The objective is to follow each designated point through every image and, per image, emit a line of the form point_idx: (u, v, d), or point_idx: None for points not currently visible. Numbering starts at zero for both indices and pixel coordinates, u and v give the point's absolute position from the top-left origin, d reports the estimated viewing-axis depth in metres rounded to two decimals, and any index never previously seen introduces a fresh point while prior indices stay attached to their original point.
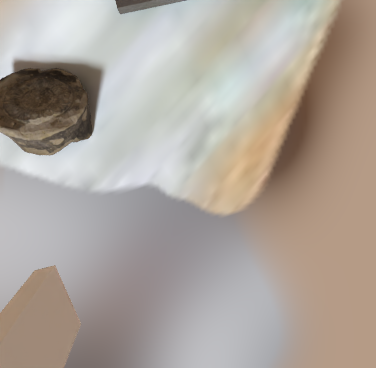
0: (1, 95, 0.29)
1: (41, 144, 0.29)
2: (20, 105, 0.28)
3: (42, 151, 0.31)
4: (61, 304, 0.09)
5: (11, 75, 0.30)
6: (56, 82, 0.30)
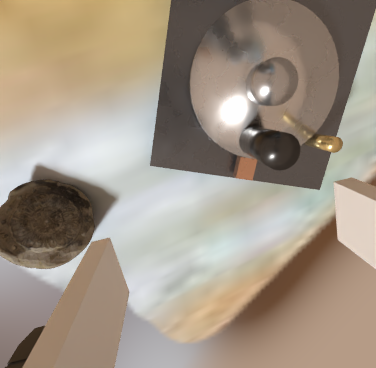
0: (13, 205, 0.30)
1: None
2: (27, 225, 0.29)
3: None
4: (116, 271, 0.10)
5: (29, 184, 0.31)
6: (70, 206, 0.32)
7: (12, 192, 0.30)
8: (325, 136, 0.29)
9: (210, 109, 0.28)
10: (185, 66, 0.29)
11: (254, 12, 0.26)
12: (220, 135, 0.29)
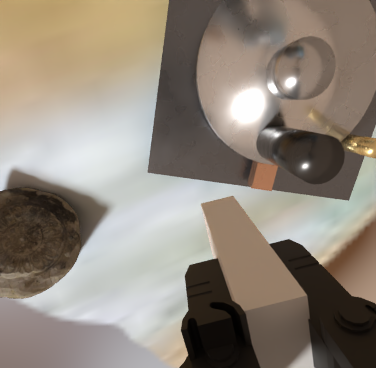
0: None
1: None
2: None
3: None
4: None
5: (2, 193, 0.26)
6: (51, 219, 0.26)
7: None
8: (363, 138, 0.23)
9: (221, 104, 0.23)
10: (190, 51, 0.23)
11: None
12: (233, 136, 0.24)
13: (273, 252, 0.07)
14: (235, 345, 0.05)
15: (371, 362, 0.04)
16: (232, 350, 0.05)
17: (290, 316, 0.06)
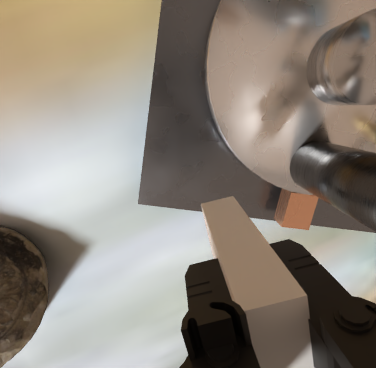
0: None
1: None
2: None
3: None
4: None
5: None
6: (6, 267, 0.19)
7: None
8: None
9: (242, 112, 0.16)
10: (197, 36, 0.17)
11: None
12: (257, 157, 0.17)
13: (273, 252, 0.07)
14: (235, 345, 0.05)
15: (371, 362, 0.04)
16: (232, 350, 0.05)
17: (290, 316, 0.06)
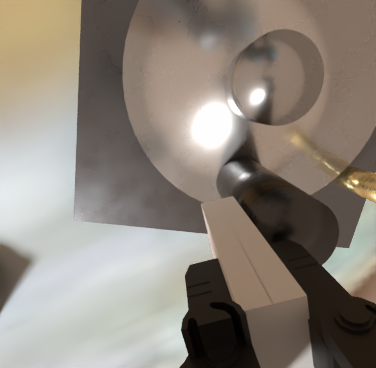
0: None
1: None
2: None
3: None
4: None
5: None
6: None
7: None
8: (368, 174, 0.16)
9: (162, 130, 0.16)
10: (120, 54, 0.17)
11: None
12: (182, 174, 0.17)
13: (273, 252, 0.07)
14: (235, 345, 0.05)
15: (371, 362, 0.04)
16: (232, 350, 0.05)
17: (290, 316, 0.06)
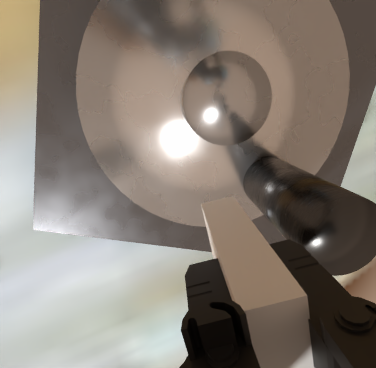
0: None
1: None
2: None
3: None
4: None
5: None
6: None
7: None
8: None
9: (177, 198, 0.17)
10: None
11: (110, 31, 0.14)
12: None
13: (273, 252, 0.07)
14: (235, 345, 0.05)
15: (371, 362, 0.04)
16: (232, 350, 0.05)
17: (290, 316, 0.06)
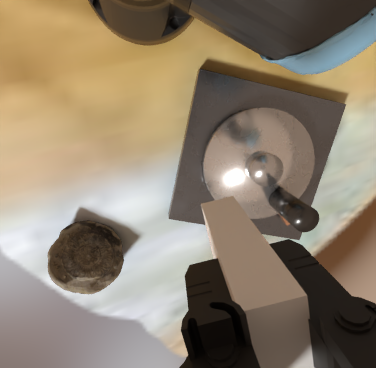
0: (63, 241, 0.38)
1: None
2: (74, 259, 0.38)
3: None
4: None
5: (75, 224, 0.40)
6: (105, 243, 0.40)
7: (63, 231, 0.39)
8: None
9: (240, 205, 0.39)
10: (200, 148, 0.38)
11: (220, 140, 0.36)
12: (257, 213, 0.39)
13: (273, 252, 0.07)
14: (235, 345, 0.05)
15: (371, 362, 0.04)
16: (232, 350, 0.05)
17: (290, 316, 0.06)
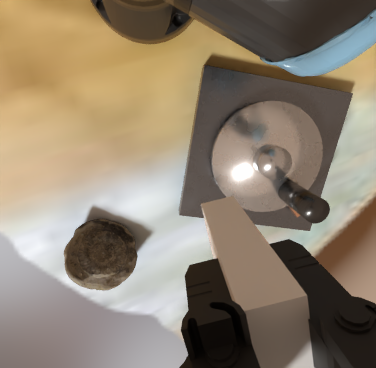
0: (78, 240, 0.39)
1: None
2: (89, 256, 0.39)
3: None
4: None
5: (89, 223, 0.41)
6: (119, 240, 0.41)
7: (77, 230, 0.40)
8: None
9: (249, 199, 0.39)
10: (207, 144, 0.39)
11: (228, 135, 0.36)
12: (267, 206, 0.40)
13: (273, 252, 0.07)
14: (235, 345, 0.05)
15: (371, 362, 0.04)
16: (232, 350, 0.05)
17: (290, 316, 0.06)
